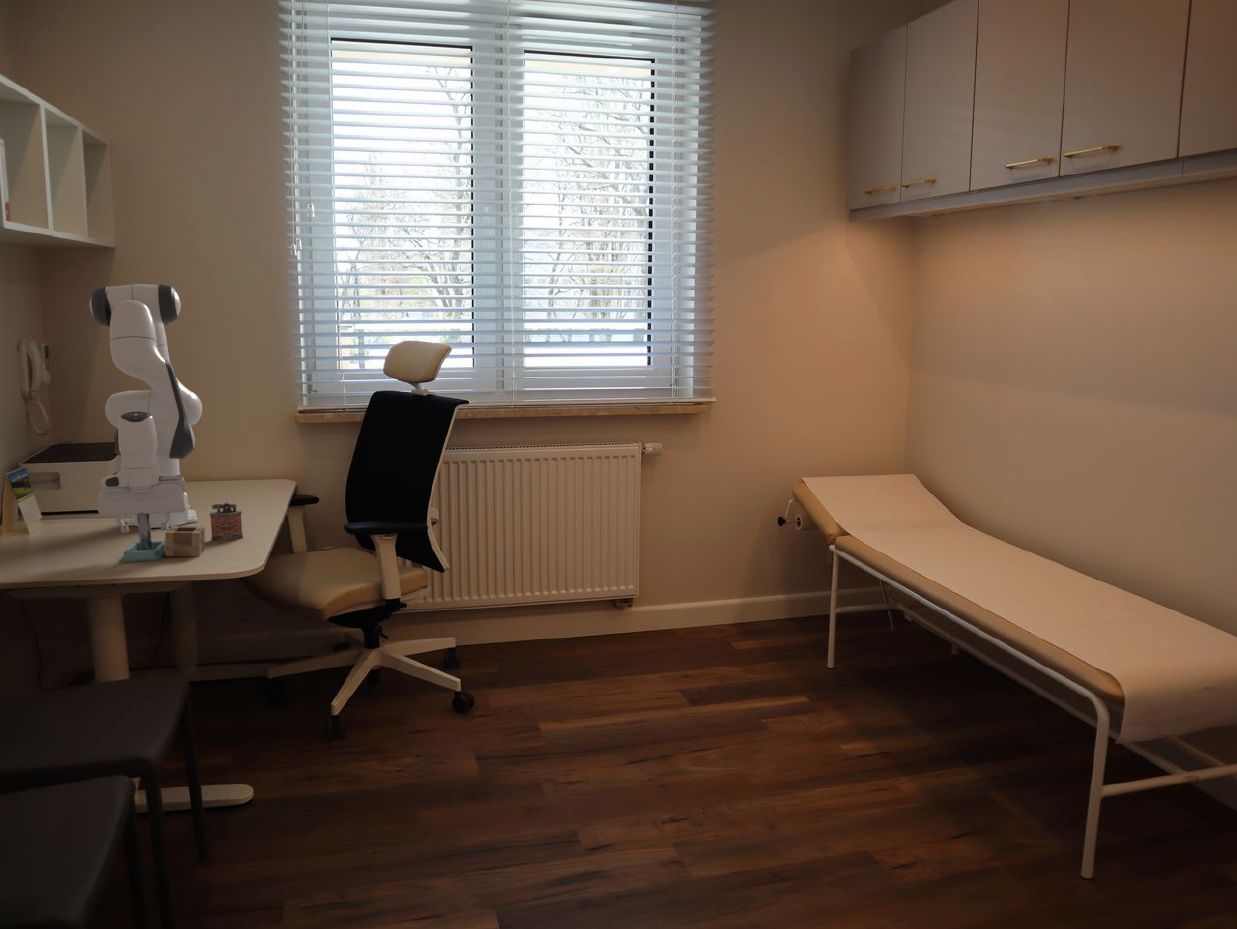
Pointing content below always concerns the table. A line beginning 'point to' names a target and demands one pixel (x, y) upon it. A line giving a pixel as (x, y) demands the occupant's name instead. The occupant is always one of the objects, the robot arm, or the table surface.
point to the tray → (145, 552)
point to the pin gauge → (144, 531)
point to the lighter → (226, 522)
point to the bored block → (184, 541)
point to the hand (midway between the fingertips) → (145, 531)
